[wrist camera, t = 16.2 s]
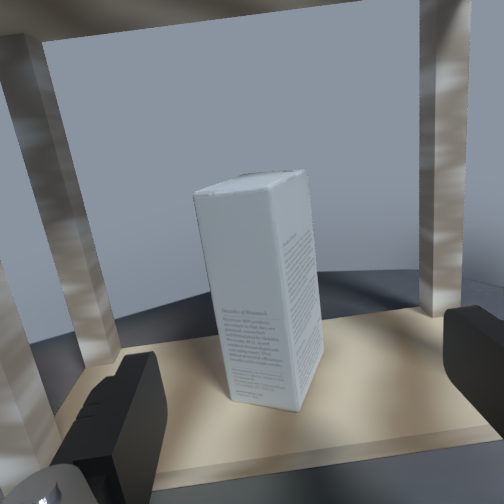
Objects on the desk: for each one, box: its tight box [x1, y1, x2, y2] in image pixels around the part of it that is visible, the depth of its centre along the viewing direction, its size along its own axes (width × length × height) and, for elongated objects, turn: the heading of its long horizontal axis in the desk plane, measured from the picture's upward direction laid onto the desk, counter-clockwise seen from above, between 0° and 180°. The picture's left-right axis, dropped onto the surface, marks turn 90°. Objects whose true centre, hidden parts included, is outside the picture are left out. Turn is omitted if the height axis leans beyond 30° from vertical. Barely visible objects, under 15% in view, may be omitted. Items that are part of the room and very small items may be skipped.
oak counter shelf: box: [0, 0, 503, 497], centre depth 20 cm, size 27×12×24 cm, turn 93°
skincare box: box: [193, 169, 324, 412], centre depth 21 cm, size 6×4×12 cm
